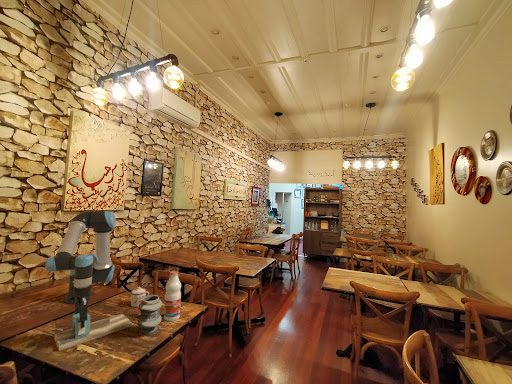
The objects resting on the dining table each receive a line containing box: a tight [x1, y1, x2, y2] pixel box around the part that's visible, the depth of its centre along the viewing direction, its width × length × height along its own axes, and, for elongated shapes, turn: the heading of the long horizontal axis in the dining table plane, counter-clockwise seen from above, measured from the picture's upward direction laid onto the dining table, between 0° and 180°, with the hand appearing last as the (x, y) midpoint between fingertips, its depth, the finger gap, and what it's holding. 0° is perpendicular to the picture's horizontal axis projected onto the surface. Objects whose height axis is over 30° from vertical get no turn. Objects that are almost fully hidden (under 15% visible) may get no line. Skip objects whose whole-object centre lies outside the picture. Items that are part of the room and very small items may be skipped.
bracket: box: [71, 311, 91, 338], centre depth 121 cm, size 8×6×9 cm
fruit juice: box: [163, 270, 182, 322], centre depth 145 cm, size 9×9×28 cm
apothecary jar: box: [137, 294, 163, 337], centre depth 129 cm, size 12×12×18 cm
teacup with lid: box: [130, 286, 150, 308], centre depth 162 cm, size 12×9×12 cm
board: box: [53, 313, 133, 352], centre depth 126 cm, size 15×32×5 cm, turn 138°
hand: (79, 330), depth 121 cm, fingers closed on bracket, 7 cm apart
